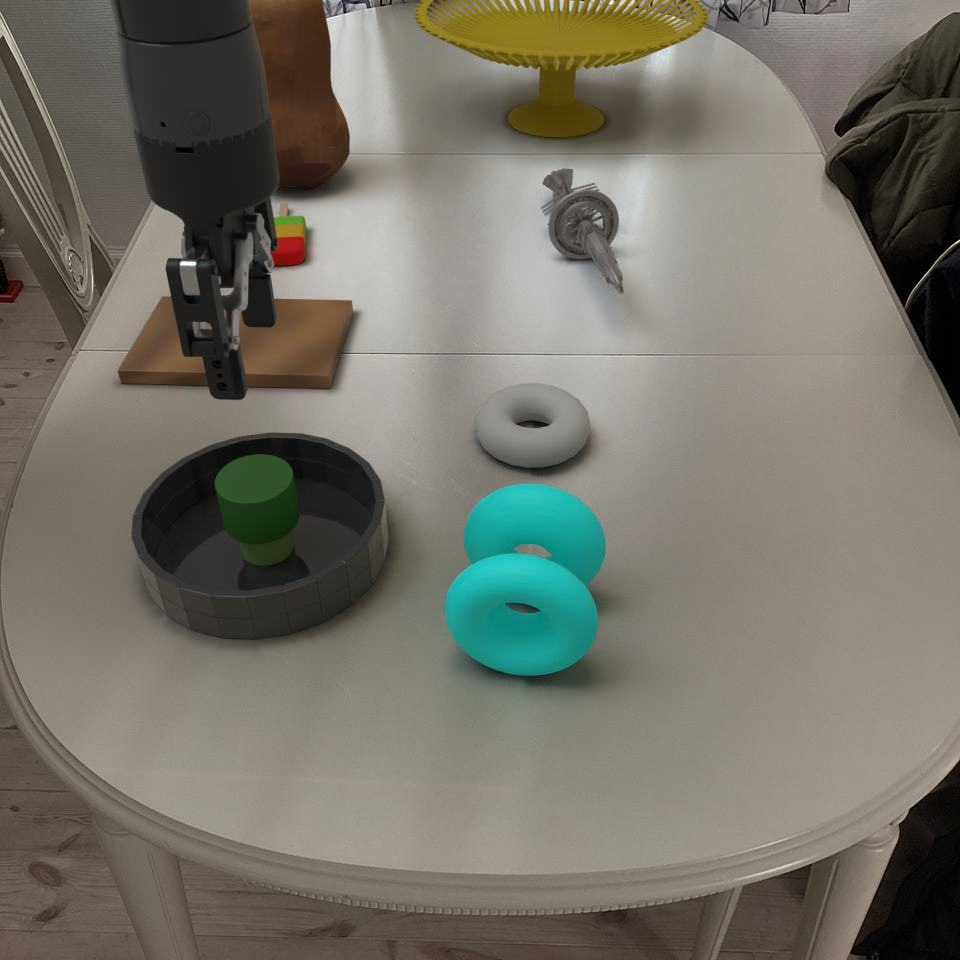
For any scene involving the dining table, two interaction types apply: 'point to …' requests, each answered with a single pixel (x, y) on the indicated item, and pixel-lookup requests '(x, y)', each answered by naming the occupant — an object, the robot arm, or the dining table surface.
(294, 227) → the popsicle
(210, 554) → the pan
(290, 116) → the butternut squash
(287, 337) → the board
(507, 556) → the donuts
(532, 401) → the donut
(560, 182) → the spaceship
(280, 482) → the green cylinder
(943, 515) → the dining table surface
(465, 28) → the cake stand
